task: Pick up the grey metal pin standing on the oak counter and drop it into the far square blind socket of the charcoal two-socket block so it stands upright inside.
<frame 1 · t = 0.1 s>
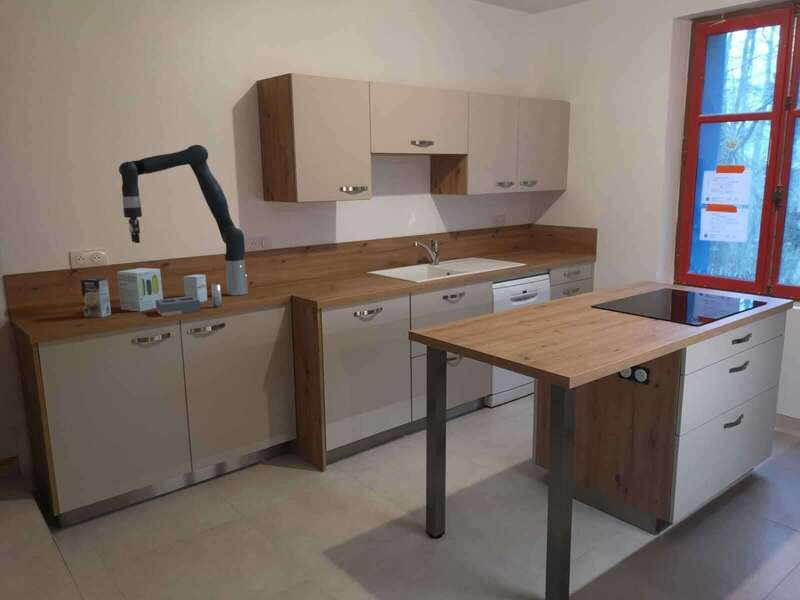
hand: (135, 242, 291), 29 cm above the worktop, fingers open, 8 cm apart
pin: (217, 306, 286), on the worktop
supplement box: (196, 302, 300), on the worktop
supplement box 2: (142, 308, 288), on the worktop
coffee box: (98, 316, 274), on the worktop
socket block: (178, 311, 278), on the worktop
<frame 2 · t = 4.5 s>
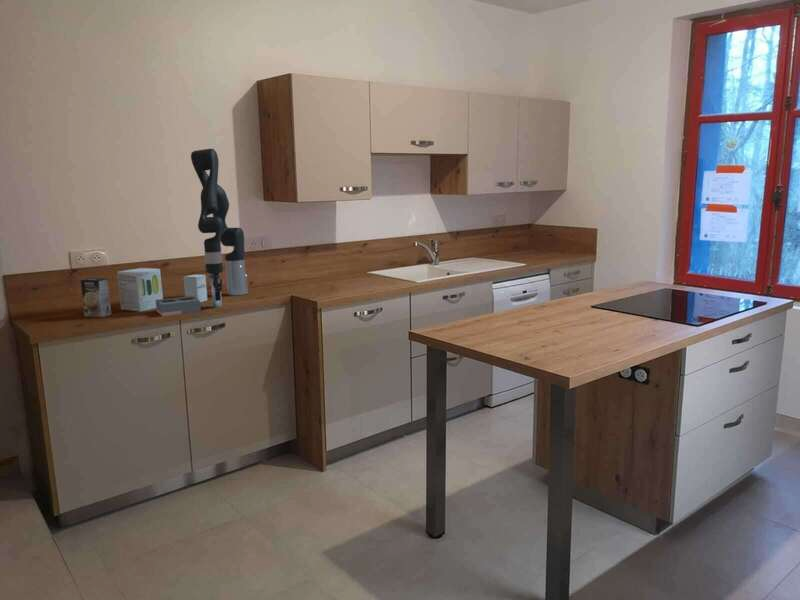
hand: (216, 299, 285), 3 cm above the worktop, fingers closed on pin, 4 cm apart
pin: (217, 306, 286), on the worktop, touching gripper
everything else where it was.
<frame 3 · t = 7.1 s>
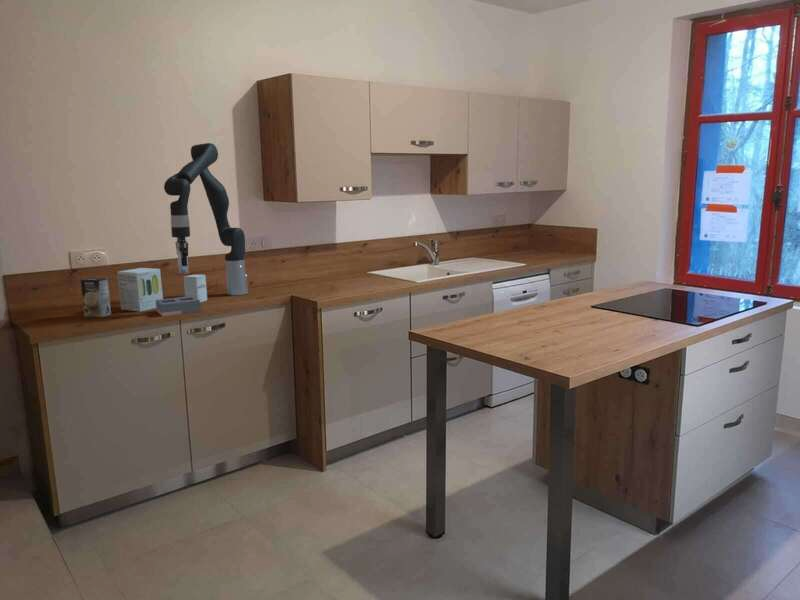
hand: (183, 265, 275), 20 cm above the worktop, fingers closed on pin, 4 cm apart
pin: (183, 272, 276), point 17 cm above the worktop, touching gripper
everything else where it was.
when the fingers open (6 cm above the worktop, at t = 9.9 s): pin drops 1 cm, resting on socket block.
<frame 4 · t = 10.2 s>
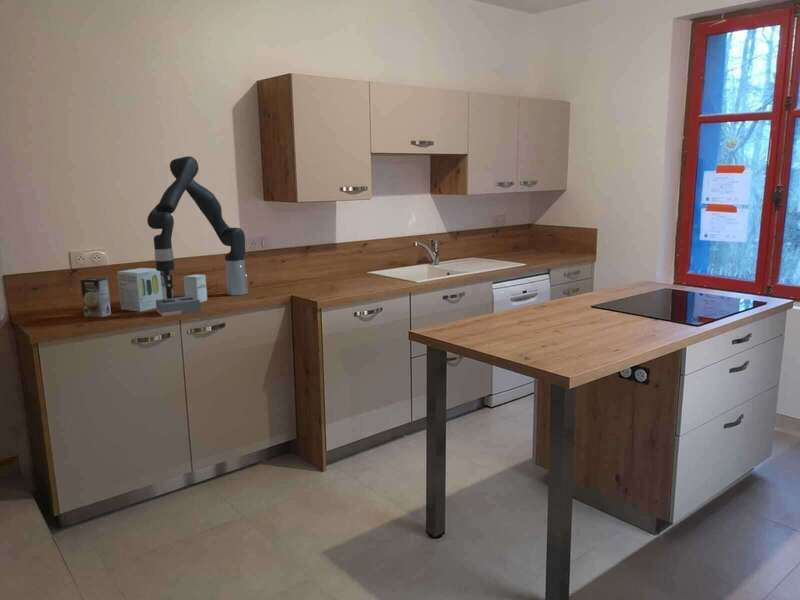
hand: (168, 297, 275), 7 cm above the worktop, fingers open, 6 cm apart
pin: (169, 308, 276), point 2 cm above the worktop, touching socket block
everything else where it was.
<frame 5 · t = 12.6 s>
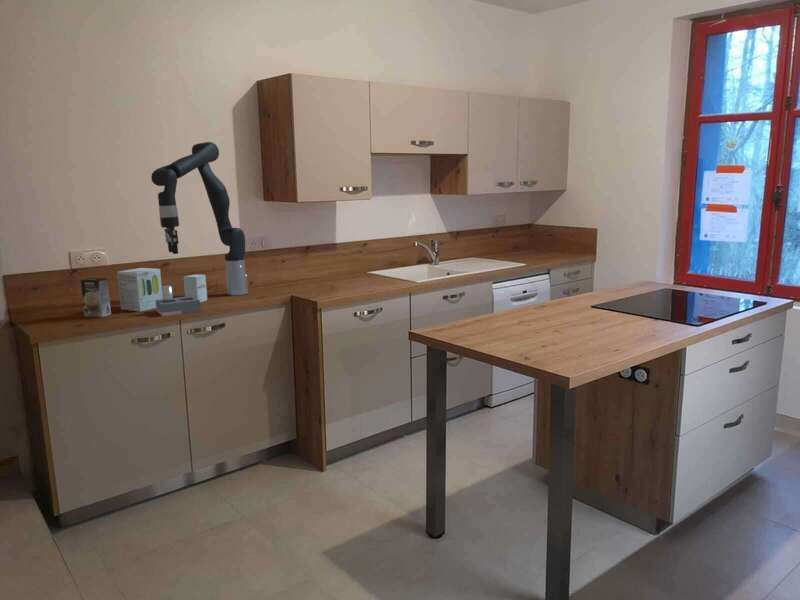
hand: (173, 252, 279), 25 cm above the worktop, fingers open, 8 cm apart
nothing on the worktop moved.
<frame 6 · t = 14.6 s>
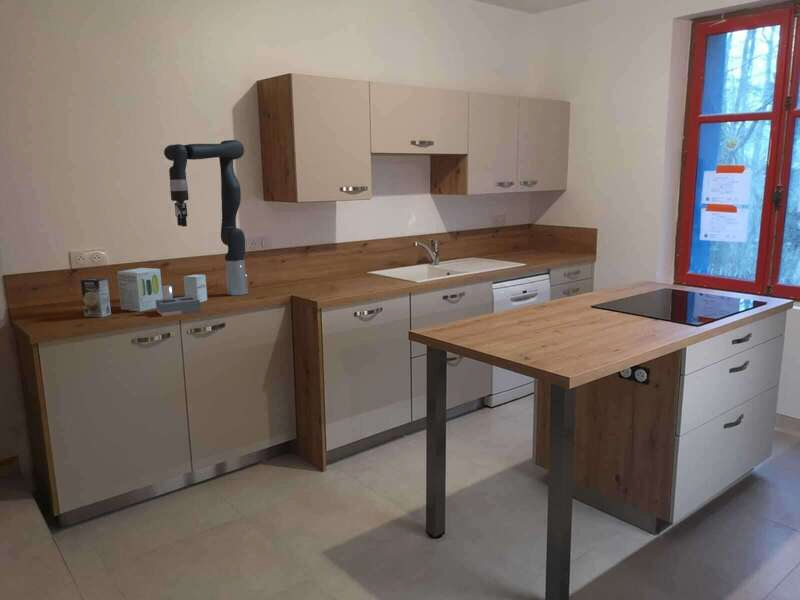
hand: (182, 226, 289), 36 cm above the worktop, fingers open, 8 cm apart
nothing on the worktop moved.
at the end: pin 0.1 cm from the target spot on the socket block, point 1.5 cm above the socket block's base; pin tilted 1°; the gripper is holding nothing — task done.
